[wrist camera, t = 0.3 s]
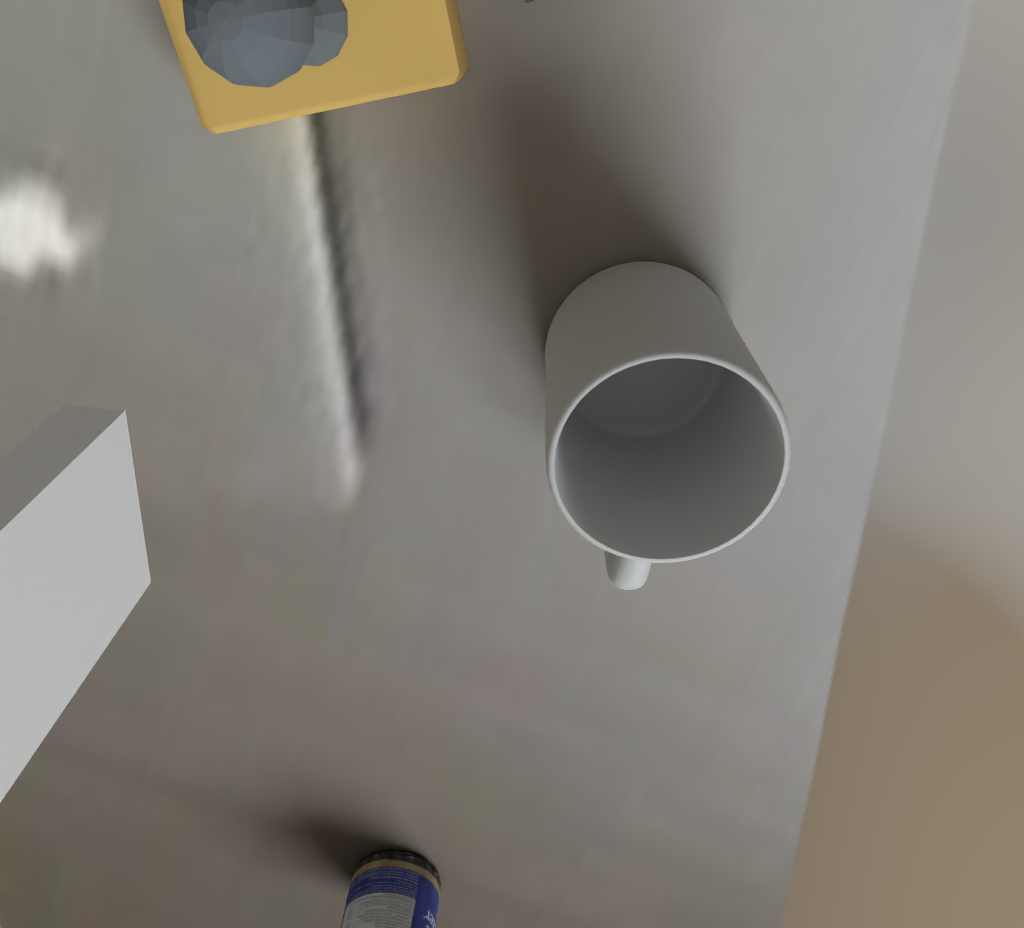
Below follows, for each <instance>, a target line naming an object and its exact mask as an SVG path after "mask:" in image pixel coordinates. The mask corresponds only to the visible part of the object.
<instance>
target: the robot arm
mask: <svg viewBox="0 0 1024 928" xmlns="http://www.w3.org/2000/svg"><path fill="white" fill-rule="evenodd" d="M150 583H151V580H150V573H149V567H148V560H147V553H146V546H145V540H144V533H143V526H142V520H141V513H140V506H139V499H138V493H137V486H136V479H135V472H134V466H133V459H132V452H131V445H130V439H129V432H128V425H127V418H126V412H125V410H116V409H106V408H96V407H87V406H77V405H67V404H65V405H64V406H62V407H61V408H60V409H59V410H58V411H56V412H55V413H54V414H53V415H52V416H50V417H49V418H48V419H47V420H46V421H44V422H43V423H42V424H41V425H40V426H38V427H37V428H36V429H35V430H34V431H32V432H31V433H30V434H29V435H28V436H26V437H25V438H24V439H23V440H22V441H20V442H19V443H18V444H17V445H16V446H14V447H13V448H12V449H11V450H10V451H8V452H7V453H6V454H5V455H4V456H2V457H1V458H0V802H1V801H2V799H3V798H4V796H5V795H6V793H7V792H8V791H9V789H10V788H11V786H12V785H13V783H14V782H15V780H16V779H17V777H18V776H19V774H20V773H21V772H22V770H23V769H24V767H25V766H26V764H27V763H28V761H29V760H30V758H31V757H32V755H33V754H34V752H35V751H36V750H37V748H38V747H39V745H40V744H41V742H42V741H43V739H44V738H45V736H46V735H47V733H48V732H49V731H50V729H51V728H52V726H53V725H54V723H55V722H56V720H57V719H58V717H59V716H60V714H61V713H62V711H63V710H64V709H65V707H66V706H67V704H68V703H69V701H70V700H71V698H72V697H73V695H74V694H75V692H76V691H77V690H78V688H79V687H80V685H81V684H82V682H83V681H84V679H85V678H86V676H87V675H88V673H89V672H90V670H91V669H92V668H93V666H94V665H95V663H96V662H97V660H98V659H99V657H100V656H101V654H102V653H103V651H104V650H105V649H106V647H107V646H108V644H109V643H110V641H111V640H112V638H113V637H114V635H115V634H116V632H117V631H118V629H119V628H120V627H121V625H122V624H123V622H124V621H125V619H126V618H127V616H128V615H129V613H130V612H131V610H132V609H133V608H134V606H135V605H136V603H137V602H138V600H139V599H140V597H141V596H142V594H143V593H144V591H145V590H146V588H147V587H148V586H149V584H150Z"/></svg>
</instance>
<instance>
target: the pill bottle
mask: <svg viewBox="0 0 1024 928" xmlns="http://www.w3.org/2000/svg"><path fill="white" fill-rule="evenodd" d="M440 886H441V883H440V878H439V876H438V874H437V872H436V871H435V869H434V868H433V867H431V866H430V864H429V863H428V862H427V861H426V860H425V859H423V858H421V857H419V856H416V855H414V854H411V853H407V852H400V851H384V852H379V853H376V854H372V855H370V856H369V857H367V858H365V859H364V860H362V861H361V862H360V863H359V865H358V866H357V867H356V869H355V872H354V874H353V877H352V881H351V885H350V889H349V893H348V897H347V900H346V907H345V911H344V915H343V920H342V924H341V928H436V920H437V912H438V903H439V895H440Z"/></svg>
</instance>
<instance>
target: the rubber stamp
mask: <svg viewBox="0 0 1024 928" xmlns="http://www.w3.org/2000/svg"><path fill="white" fill-rule="evenodd" d="M159 3H160V6H161V9H162V12H163V15H164V17H165V20H166V23H167V26H168V29H169V32H170V35H171V38H172V41H173V44H174V47H175V49H176V52H177V55H178V58H179V61H180V64H181V67H182V70H183V73H184V76H185V79H186V81H187V84H188V87H189V90H190V93H191V96H192V99H193V102H194V105H195V108H196V111H197V114H198V116H199V119H200V122H201V125H202V127H203V128H205V129H207V130H209V131H211V132H213V133H215V134H217V133H222V132H227V131H232V130H237V129H241V128H246V127H251V126H256V125H261V124H265V123H270V122H275V121H280V120H284V119H289V118H294V117H299V116H304V115H308V114H313V113H318V112H323V111H327V110H332V109H337V108H342V107H347V106H351V105H356V104H361V103H366V102H370V101H375V100H380V99H385V98H390V97H394V96H399V95H404V94H409V93H413V92H418V91H423V90H428V89H433V88H437V87H442V86H447V85H451V84H455V83H456V82H458V81H459V80H460V79H462V78H463V76H464V74H465V73H466V71H467V69H468V68H469V65H468V59H467V54H466V49H465V44H464V39H463V34H462V28H461V23H460V18H459V13H458V8H457V3H456V0H159Z"/></svg>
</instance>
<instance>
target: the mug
mask: <svg viewBox="0 0 1024 928" xmlns="http://www.w3.org/2000/svg"><path fill="white" fill-rule="evenodd" d="M545 372H546V468H547V476H548V481H549V485H550V489H551V492H552V494H553V497H554V499H555V502H556V504H557V505H558V507H559V509H560V511H561V512H562V514H563V515H564V517H565V518H566V519H567V521H568V522H569V523H570V524H571V526H572V527H573V528H574V529H575V530H576V531H578V532H579V533H580V534H581V535H582V536H583V537H584V538H586V539H587V540H589V541H590V542H591V543H593V544H594V545H596V546H598V547H600V548H601V549H603V550H604V551H605V560H606V567H607V572H608V576H609V578H610V580H611V581H612V583H613V584H614V585H615V586H617V587H618V588H621V589H625V590H634V589H637V588H639V587H642V585H643V584H644V583H645V581H646V579H647V577H648V574H649V571H650V567H651V563H652V562H655V563H666V562H679V561H685V560H691V559H695V558H698V557H702V556H705V555H708V554H711V553H713V552H716V551H718V550H720V549H722V548H724V547H726V546H728V545H730V544H732V543H734V542H735V541H737V540H738V539H740V538H741V537H743V536H744V535H745V534H747V533H748V532H749V531H750V530H751V529H753V528H754V527H755V526H756V525H757V524H758V523H759V522H760V521H761V520H762V519H763V518H764V517H765V516H766V514H767V513H768V512H769V510H770V509H771V508H772V506H773V505H774V503H775V502H776V500H777V498H778V496H779V494H780V493H781V491H782V488H783V485H784V483H785V480H786V478H787V474H788V469H789V465H790V456H791V439H790V431H789V427H788V423H787V419H786V416H785V413H784V411H783V408H782V406H781V404H780V401H779V400H778V398H777V396H776V395H775V393H774V391H773V389H772V388H771V386H770V384H769V383H768V381H767V379H766V378H765V376H764V375H763V373H762V371H761V370H760V368H759V366H758V365H757V363H756V361H755V360H754V358H753V356H752V355H751V353H750V351H749V350H748V348H747V346H746V345H745V343H744V341H743V340H742V338H741V337H740V335H739V333H738V332H737V330H736V328H735V326H734V324H733V322H732V320H731V318H730V316H729V314H728V313H727V311H726V309H725V308H724V306H723V304H722V302H721V301H720V299H719V298H718V297H717V296H716V295H715V293H714V292H713V291H712V290H711V289H710V288H709V287H708V286H707V285H706V284H705V283H704V282H703V281H701V280H700V279H699V278H697V277H696V276H694V275H693V274H691V273H689V272H687V271H685V270H683V269H681V268H678V267H675V266H672V265H669V264H664V263H658V262H647V261H639V262H629V263H624V264H619V265H615V266H613V267H610V268H607V269H604V270H602V271H600V272H598V273H596V274H594V275H593V276H591V277H589V278H588V279H586V280H585V281H583V282H582V283H581V284H580V285H579V286H578V287H576V288H575V289H574V290H573V291H572V292H571V293H570V294H569V296H568V297H567V298H566V299H565V300H564V302H563V303H562V304H561V306H560V307H559V309H558V310H557V312H556V314H555V316H554V318H553V320H552V323H551V326H550V328H549V331H548V336H547V341H546V346H545Z"/></svg>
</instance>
